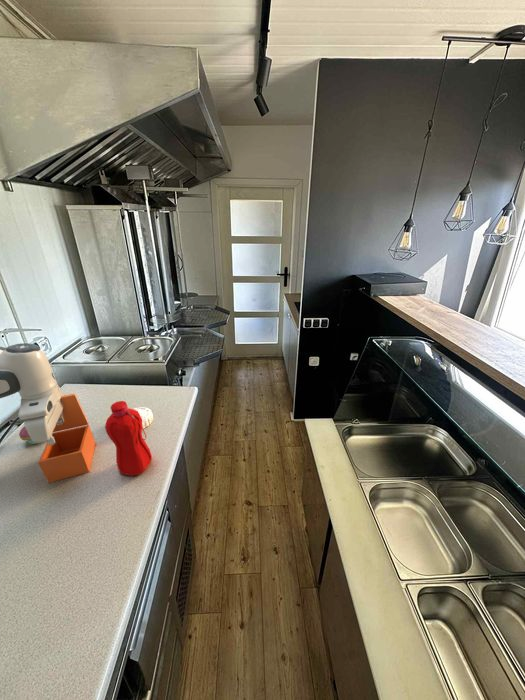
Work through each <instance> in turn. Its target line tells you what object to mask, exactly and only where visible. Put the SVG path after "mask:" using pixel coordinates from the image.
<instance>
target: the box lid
mask: <svg viewBox="0 0 525 700" xmlns="http://www.w3.org/2000/svg"><path fill="white" fill-rule="evenodd" d="M63 395H64V394H63ZM60 400H61V402H62V404H63V405H64V408H63V410H62V411H63V419H64V422H63V424H62V425H57V424H56V426H55V428H54V430H53V433H55V432H59V431H64V430H68V429H73V428H77V427H82V426H87V425H90V422H89V421H88V419H87V416H86V414H85V412H84V410H83V408H82V405H81V404H80V401H79V400H78V397H77V395H76V393H70V394H66V395H64V396H61V398H60Z"/></svg>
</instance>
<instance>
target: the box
mask: <svg viewBox="0 0 525 700" xmlns="http://www.w3.org/2000/svg"><path fill="white" fill-rule="evenodd" d="M52 436H53V437H54V436H55V438H56V442H55V444H53V445H48V443H47V442H46V443H45V446H44V449H43V451H42V453H41V455H40V457H39V459H38V462H37V463H38V465H39V467H40V469H41V471H42V473H43V476H44V477H45V479H46V481H47V483H52V482H56V481H60V480H64V479H67V478H72V477H76V476H80V475H82V474H83V475H84V474H87V473H90V471H91V467H92V462H93V457H94V453H95V449H96V445H97V443H96V440H95V438H94V435H93V432H92V428H91V427H90V424H88V425H85V426H80V427H75V428H71V429H66V430H62V431H57V432H53V433H52ZM75 450H78V451H77V452H73V453H69V454H65V455H62V453H67V452H71V451H75Z"/></svg>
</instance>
